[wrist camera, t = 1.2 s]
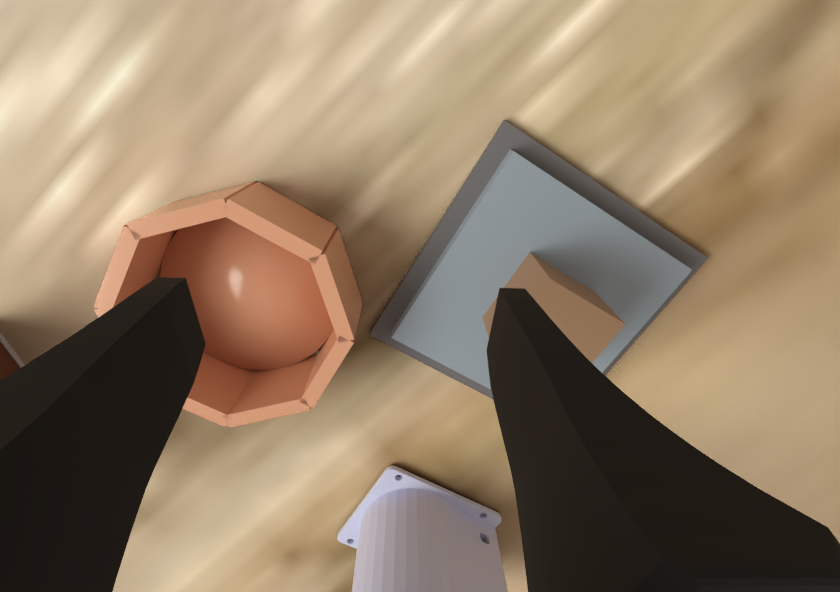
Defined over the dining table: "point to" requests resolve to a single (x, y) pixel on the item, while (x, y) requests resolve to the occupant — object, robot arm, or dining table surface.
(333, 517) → the dining table surface
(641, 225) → the mat
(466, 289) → the lid
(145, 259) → the bowl
